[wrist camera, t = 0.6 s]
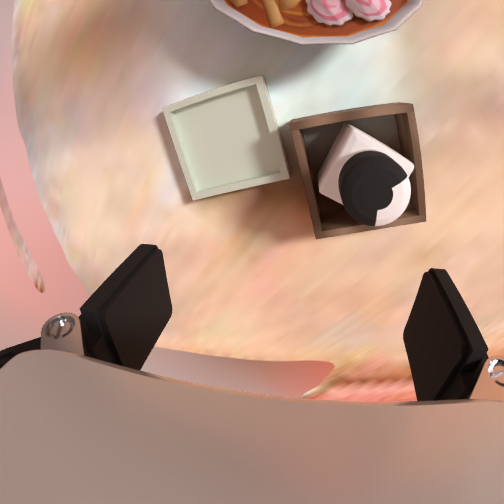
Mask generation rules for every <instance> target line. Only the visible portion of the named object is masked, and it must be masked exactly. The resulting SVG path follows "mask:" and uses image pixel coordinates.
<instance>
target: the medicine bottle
mask: <svg viewBox="0 0 504 504" xmlns="http://www.w3.org/2000/svg"><path fill="white" fill-rule="evenodd" d="M413 169H414V164H413V163H411V162H410V161H409V160H407V159H406V158H405V157H403V156H402V155H401V154H399V153H398V152H396V151H395V150H393V149H392V148H390V147H389V146H387V145H385V144H384V143H382V142H380V141H379V140H377V139H375V138H374V137H372V136H370V135H368V134H367V133H365V132H363V131H361V130H360V129H358V128H356V127H354V126H352V125H351V124H349V123H344V124H343V126H342V128H341V130H340V132H339V134H338V135H337V137H336V139H335V141H334V143H333V145H332V147H331V149H330V151H329V153H328V155H327V157H326V158H325V160H324V162H323V164H322V166H321V168H320V170H319V172H318V183H319V192H320V193H321V194H323V195H325V196H327V197H329V198H331V199H333V200H334V201H336V202H338V203H340V204H342V205H343V206H344V208H345V210H346V211H347V213H348V214H349V215H350V216H351V217H352V218H353V219H354V220H356V221H357V222H359V223H361V224H364V225H368V226H382V225H386V224H389V223H391V222H393V221H394V220H396V219H397V218H398V217H400V216H401V214H402V213H403V212H404V211H405V209H406V207H407V205H408V203H409V200H410V195H411V186H410V181H409V176H410V174H411V173H412V171H413Z"/></svg>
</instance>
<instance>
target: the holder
mask: <svg viewBox="0 0 504 504" xmlns="http://www.w3.org/2000/svg"><path fill="white" fill-rule="evenodd" d="M390 114H395V117H396V122H397V127H398V133H399V139H400V145H401V152H402V156H403V157H405V158H406V159H407V160H409V161H410V162H411V163H413V164H414V169H413V171H412V173H411V174H410V176H409V181H410V186H411V195H410V200H409V203H408V205H407V207H406V209H405V211H404V212H403V213H402V214H401V216H400V217H398V218H397V219H396V220H394V221H393V222H391V223H389V224H386V225H382V226H368V225H364V224H361V223H359V222H357V221H356V220H354V219H353V218H352V217H351V216H350V215H349V214H348V213H347V211H346V210H342V211H336V212H330V213H324V214H321V212H320V207H319V202H318V197H317V193H316V188H315V184H314V179H313V175H312V170H311V166H310V162H309V157H308V153H307V149H306V145H305V141H304V137H303V133H302V129H304V128H309V127H314V126H319V125H325V124H330V123H336V122H342V121H348V120H354V119H361V118H368V117H375V116H382V115H390ZM289 126H290V130H291V134H292V138H293V142H294V146H295V150H296V154H297V158H298V162H299V166H300V170H301V174H302V178H303V182H304V187H305V191H306V195H307V200H308V204H309V209H310V213H311V218H312V223H313V228H314V232H315V237H316V239H320V238H326V237H333V236H339V235H345V234H351V233H357V232H363V231H370V230H376V229H382V228H388V227H394V226H400V225H407V224H413V223H419V222H425V221H426V207H425V191H424V179H423V169H422V160H421V152H420V144H419V137H418V131H417V124H416V119H415V113H414V108H413V104H409V103H400V102H398V103H389V104H381V105H373V106H366V107H359V108H352V109H346V110H340V111H334V112H329V113H323V114H318V115H313V116H307V117H303V118H298V119H293V120H291V121H290V123H289Z"/></svg>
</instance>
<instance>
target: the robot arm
mask: <svg viewBox="0 0 504 504" xmlns="http://www.w3.org/2000/svg"><path fill="white" fill-rule="evenodd" d="M80 311H81V315H80V316H79V317H77V316H76V315H75V314H72V313H60V314H57V315H55V316H53V317H51V318H50V319H49V320H48V321H47V322H46V323H45V324H44V325H43V327H42V331H41V337H40V338H36V339H33V340H30V341H27V342H24V343H21V344H18V345H15V346H12V347H9V348H6V349H4V350H2V351H0V504H504V357H502V356H492V357H490V358H488V355H487V351H488V347H487V345H486V343H485V341H484V339H483V337H482V335H481V333H480V331H479V329H478V327H477V325H476V323H475V321H474V319H473V317H472V315H471V313H470V311H469V309H468V308H467V306H466V304H465V302H464V300H463V298H462V297H461V295H460V293H459V291H458V290H457V288H456V286H455V284H454V283H453V281H452V279H451V278H450V276H449V274H448V273H447V271H446V270H445V269H434V268H431V269H429V271H428V272H425V273H424V275H423V277H422V281H421V284H420V287H419V290H418V293H417V296H416V299H415V302H414V305H413V308H412V310H411V313H410V316H409V319H408V321H407V324H406V327H405V329H404V333H403V339H404V344H405V348H406V352H407V356H408V360H409V364H410V368H411V373H412V377H413V382H414V387H415V392H416V397H417V401H411V402H410V401H409V402H357V401H333V400H317V399H304V398H292V397H282V396H274V395H266V394H258V393H250V392H244V391H237V390H230V389H224V388H219V387H213V386H207V385H201V384H197V383H192V382H187V381H182V380H177V379H173V378H168V377H164V376H159V375H155V374H151V373H147V372H143V371H140V370H141V368H142V366H143V364H144V363H145V361H146V359H147V357H148V355H149V354H150V352H151V350H152V349H153V347H154V345H155V343H156V342H157V340H158V338H159V336H160V335H161V333H162V331H163V329H164V328H165V326H166V324H167V323H168V321H169V319H170V317H171V315H172V304H171V299H170V294H169V288H168V283H167V277H166V271H165V265H164V259H163V253H162V251H161V250H160V249H158V247H157V246H156V245H149V244H141V245H139V246H138V247H137V248H136V249H135V250H134V251H133V252H132V253H131V254H130V256H129V257H128V258H127V259H126V260H125V261H124V262H123V263H122V264H121V265H120V266H119V267H118V268H117V269H116V270H115V271H114V272H113V273H112V274H111V275H110V276H109V277H108V278H107V279H106V280H105V281H104V282H103V284H102V285H101V286H100V287H99V288H98V289H97V290H96V291H95V292H94V293H93V294H92V295H91V297H90V298H89V299H88V300H87V301H86V302H85V303H84V304H83V306H82V307H81V308H80Z"/></svg>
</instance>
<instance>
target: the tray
mask: <svg viewBox="0 0 504 504" xmlns="http://www.w3.org/2000/svg"><path fill="white" fill-rule="evenodd" d="M162 110H163V113H164V116H165V119H166V122H167V126H168V129H169V132H170V135H171V138H172V141H173V144H174V147H175V150H176V153H177V156H178V159H179V162H180V165H181V168H182V171H183V174H184V176H185V179H186V182H187V185H188V188H189V191H190V194H191V197H192V199H193V200H197V199H201V198H205V197H210V196H214V195H218V194H222V193H226V192H231V191H235V190H240V189H244V188H248V187H253V186H258V185H262V184H267V183H272V182H277V181H281V180H286V179H290V176H291V174H290V170H289V166H288V162H287V158H286V155H285V151H284V147H283V143H282V139H281V136H280V132H279V128H278V125H277V121H276V117H275V114H274V110H273V107H272V103H271V100H270V96H269V93H268V90H267V86H266V83H265V79H264V76H262V75H260V76H256V77H253V78H249V79H245V80H242V81H239V82H235V83H232V84H229V85H225V86H222V87H219V88H216V89H213V90H210V91H207V92H204V93H201V94H198V95H195V96H193V97H190V98H187V99H184V100H182V101H179V102H177V103H174V104H171V105H169V106H166V107H164V108H162Z"/></svg>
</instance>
